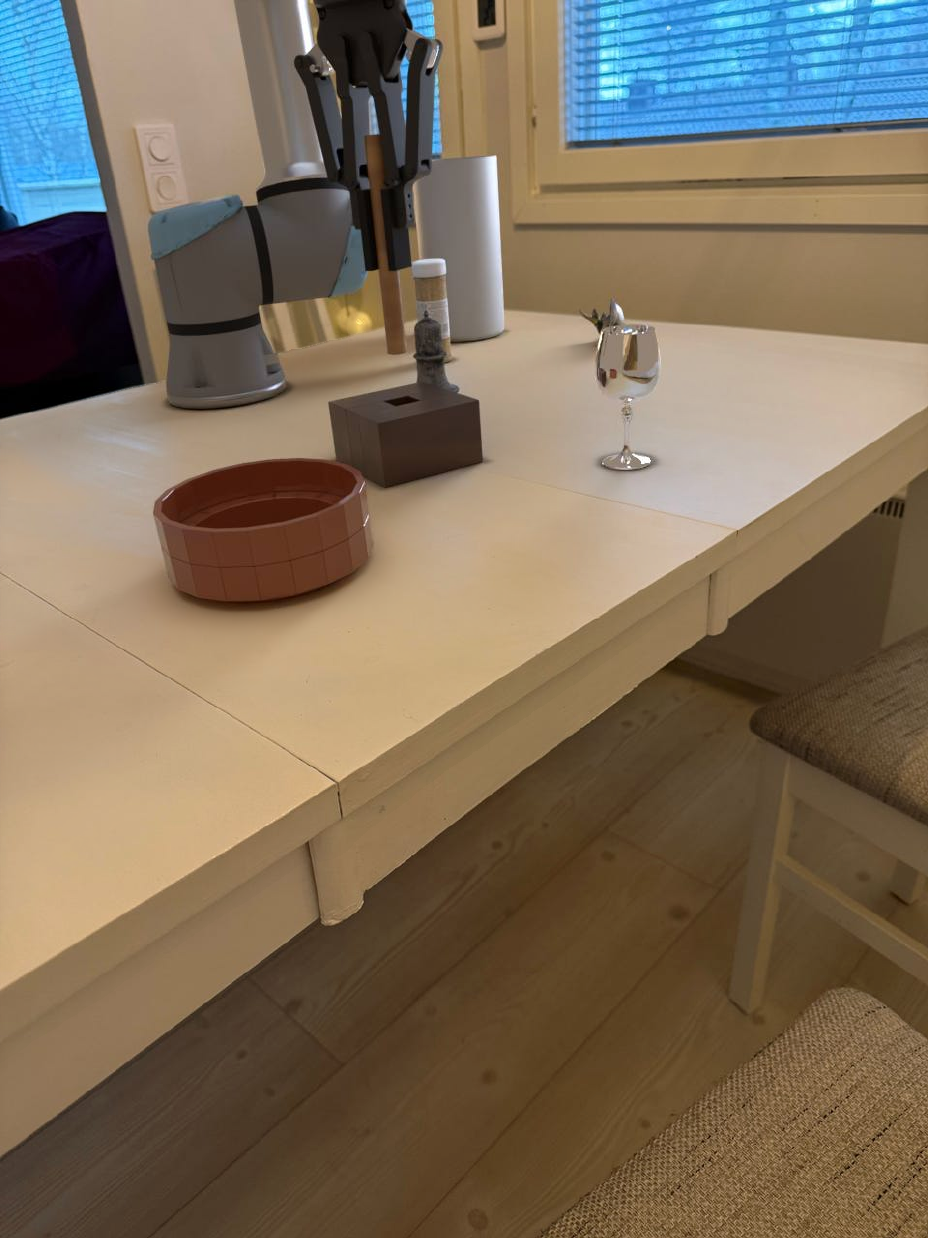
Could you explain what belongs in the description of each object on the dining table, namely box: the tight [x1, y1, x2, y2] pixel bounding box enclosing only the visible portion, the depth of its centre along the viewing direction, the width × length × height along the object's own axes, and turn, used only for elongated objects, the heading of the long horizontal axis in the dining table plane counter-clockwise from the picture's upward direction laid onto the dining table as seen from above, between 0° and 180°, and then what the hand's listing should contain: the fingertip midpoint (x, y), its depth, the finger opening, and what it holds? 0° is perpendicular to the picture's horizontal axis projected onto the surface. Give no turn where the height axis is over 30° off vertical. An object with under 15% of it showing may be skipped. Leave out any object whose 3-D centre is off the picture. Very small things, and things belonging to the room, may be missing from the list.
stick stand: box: [327, 381, 484, 488], centre depth 89 cm, size 11×11×6 cm
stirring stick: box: [364, 133, 408, 356], centre depth 81 cm, size 2×2×18 cm
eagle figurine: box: [578, 298, 627, 336], centre depth 130 cm, size 8×7×9 cm
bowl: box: [152, 457, 374, 603], centre depth 68 cm, size 15×15×6 cm
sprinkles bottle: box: [411, 259, 453, 364], centre depth 126 cm, size 5×5×14 cm
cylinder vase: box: [412, 154, 505, 343], centre depth 139 cm, size 12×12×25 cm
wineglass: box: [594, 323, 662, 471], centre depth 82 cm, size 6×6×12 cm
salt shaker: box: [412, 310, 460, 393], centre depth 99 cm, size 6×6×12 cm
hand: (388, 268), depth 82 cm, fingers closed on stirring stick, 2 cm apart
